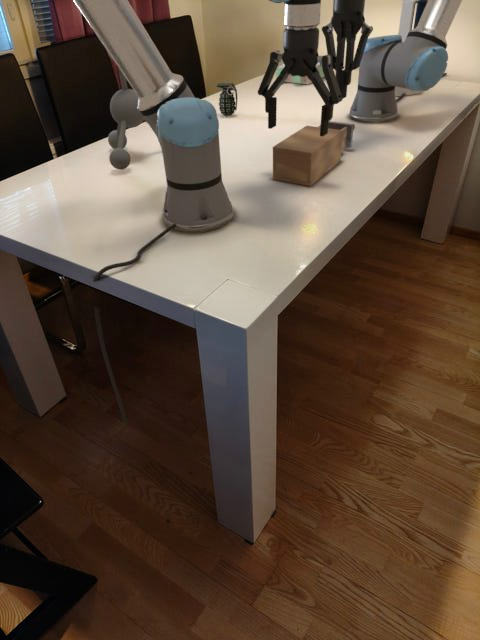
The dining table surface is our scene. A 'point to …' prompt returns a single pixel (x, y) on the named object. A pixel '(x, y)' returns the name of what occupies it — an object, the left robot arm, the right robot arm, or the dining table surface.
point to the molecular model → (123, 122)
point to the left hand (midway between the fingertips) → (297, 131)
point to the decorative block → (297, 78)
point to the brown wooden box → (306, 155)
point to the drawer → (347, 132)
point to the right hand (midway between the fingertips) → (341, 97)
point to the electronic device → (409, 29)
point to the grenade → (227, 99)
